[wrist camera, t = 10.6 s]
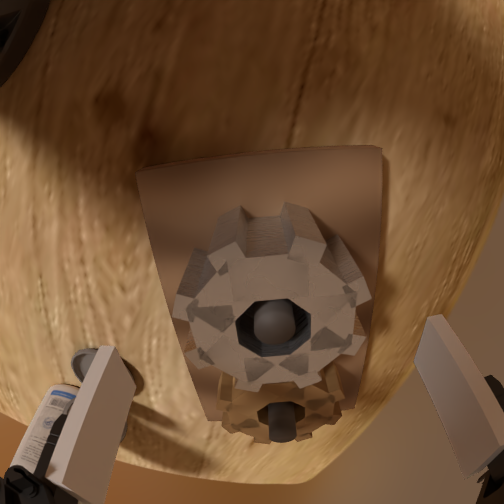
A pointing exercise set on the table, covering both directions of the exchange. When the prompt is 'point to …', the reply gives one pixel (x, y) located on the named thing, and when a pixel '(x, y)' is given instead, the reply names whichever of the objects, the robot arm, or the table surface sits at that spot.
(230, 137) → the table surface
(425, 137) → the table surface
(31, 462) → the supplement tub
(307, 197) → the gear board
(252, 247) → the steel gear
